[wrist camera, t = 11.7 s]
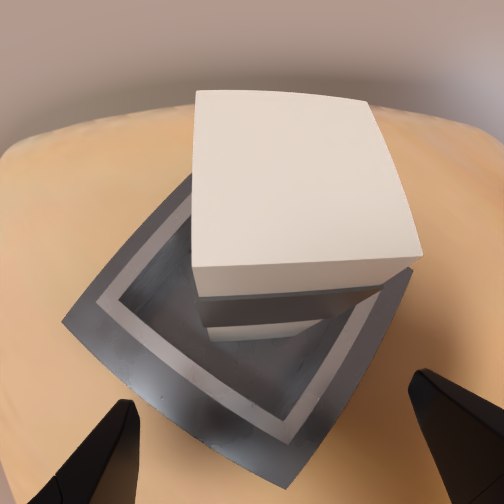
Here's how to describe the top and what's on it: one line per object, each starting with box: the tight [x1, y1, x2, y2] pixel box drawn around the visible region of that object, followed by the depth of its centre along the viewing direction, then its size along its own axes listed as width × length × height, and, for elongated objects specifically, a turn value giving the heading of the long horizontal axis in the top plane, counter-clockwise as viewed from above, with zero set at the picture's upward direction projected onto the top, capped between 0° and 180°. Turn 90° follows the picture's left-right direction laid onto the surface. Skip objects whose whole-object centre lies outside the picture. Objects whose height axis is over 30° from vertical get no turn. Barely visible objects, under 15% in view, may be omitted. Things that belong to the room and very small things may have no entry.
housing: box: [61, 173, 413, 490], centre depth 16 cm, size 16×16×4 cm
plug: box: [191, 90, 424, 342], centre depth 12 cm, size 5×5×12 cm
